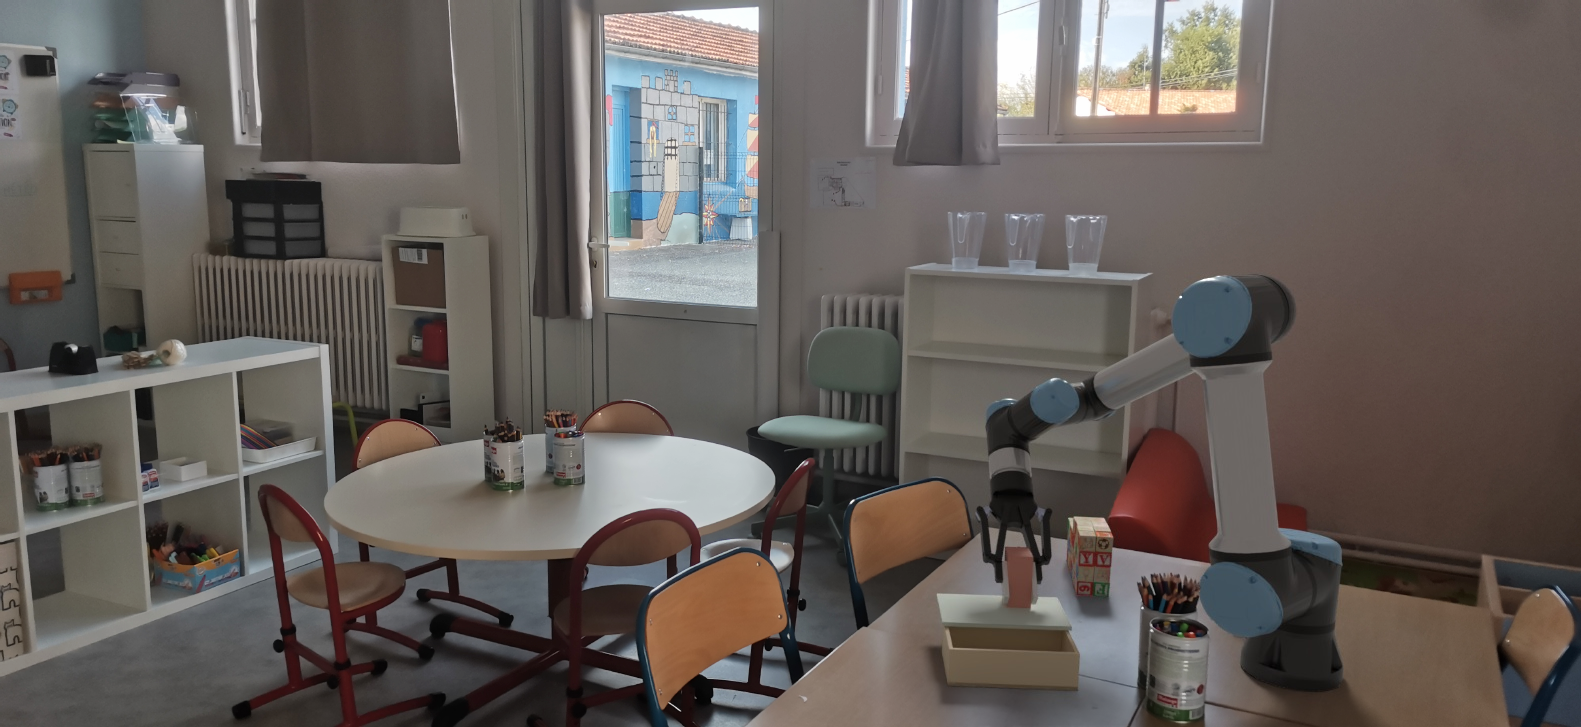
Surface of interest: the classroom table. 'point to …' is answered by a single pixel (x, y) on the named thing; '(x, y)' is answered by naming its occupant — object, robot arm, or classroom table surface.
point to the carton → (1010, 658)
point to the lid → (1001, 615)
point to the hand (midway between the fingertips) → (1020, 600)
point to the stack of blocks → (1089, 555)
